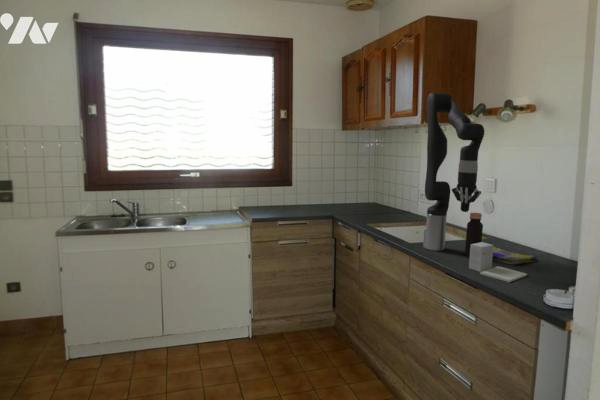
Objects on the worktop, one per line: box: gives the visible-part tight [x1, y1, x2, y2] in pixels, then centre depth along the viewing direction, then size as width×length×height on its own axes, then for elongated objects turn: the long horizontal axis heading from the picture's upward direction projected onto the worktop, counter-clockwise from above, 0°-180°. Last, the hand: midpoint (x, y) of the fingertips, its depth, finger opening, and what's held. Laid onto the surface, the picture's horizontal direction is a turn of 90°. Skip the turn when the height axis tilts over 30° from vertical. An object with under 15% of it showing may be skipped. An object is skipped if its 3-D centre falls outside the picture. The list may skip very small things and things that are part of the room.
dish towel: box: [492, 245, 538, 266], centre depth 200 cm, size 18×24×3 cm
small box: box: [468, 241, 494, 273], centre depth 180 cm, size 8×6×10 cm
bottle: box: [464, 212, 484, 258], centre depth 199 cm, size 7×7×20 cm
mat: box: [479, 265, 528, 283], centre depth 172 cm, size 12×14×1 cm
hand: (464, 211), depth 184 cm, fingers closed
